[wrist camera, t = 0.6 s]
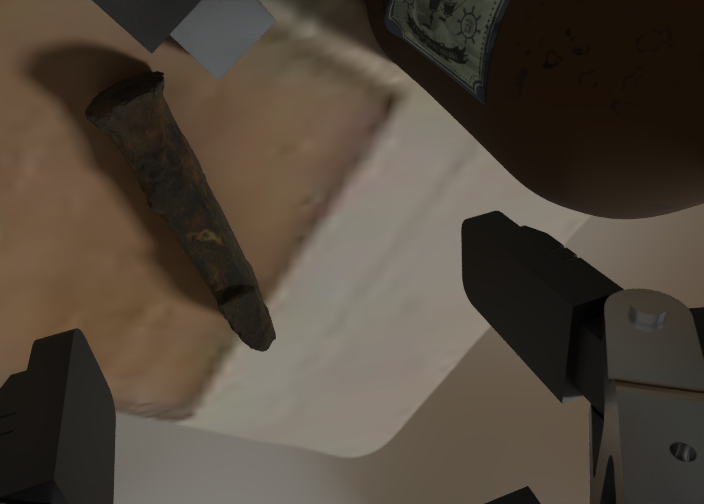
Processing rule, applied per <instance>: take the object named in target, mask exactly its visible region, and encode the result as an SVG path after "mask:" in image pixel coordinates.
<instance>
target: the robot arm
mask: <svg viewBox="0 0 704 504" xmlns="http://www.w3.org/2000/svg"><path fill="white" fill-rule="evenodd" d="M461 234H462V280H463V286H464V289H465V292H466V295H467V297H468V299H469V301H470V302H471V304H472V305H473V306H474V307H475V308H476V309H477V311H478V312H479V313H480V314H481V315H482V316H483V317H484V318H485V319H486V320H487V322H488V323H489V324H490V325H491V326H492V327H493V328H494V329H495V330H496V331H497V332H498V334H499V335H500V336H501V337H502V338H503V339H504V340H505V341H506V342H507V344H508V345H509V346H510V347H511V348H512V349H513V350H514V351H515V352H516V353H517V355H518V356H519V357H520V358H521V359H522V360H523V361H524V362H525V363H526V364H527V366H528V367H529V368H530V369H531V370H532V371H533V372H534V373H535V374H536V375H537V376H538V378H539V379H540V380H541V381H542V382H543V383H544V384H545V385H546V386H547V387H548V389H549V390H550V391H551V392H552V393H553V394H554V395H555V396H556V397H557V399H558V400H559V401H560V402H561V403H565V402H568V401H570V400H573V399H576V398H578V397H581V396H584V397H585V398H586V399H587V400H588V401H589V402H590V406H589V414H588V423H589V468H590V469H589V470H590V471H589V474H590V503H589V504H704V307H702V308H688V307H687V306H685V305H684V304H683V303H682V302H681V301H679V300H678V299H676V298H674V297H672V296H670V295H667V294H665V293H662V292H659V291H654V290H649V289H627V290H624V289H623V288H621V287H620V286H618V285H617V284H615V283H614V282H613V281H611V280H610V279H609V278H608V277H606V276H605V275H603V274H602V273H601V272H599V271H598V270H596V269H595V268H594V267H592V266H591V265H590V264H588V263H587V262H586V261H584V260H583V259H581V258H577V255H576V254H575V253H573V252H572V251H571V250H569V249H568V248H564V245H562V244H561V243H560V242H558V241H557V240H556V239H554V238H553V237H551V236H550V235H549V234H547V233H545V232H542V231H539V230H536V229H533V228H531V227H528V226H521V227H520V226H518V225H517V224H516V223H515V222H513V221H512V220H511V219H509V218H508V217H507V216H505V215H504V214H503V213H501V212H500V211H493V212H489V213H486V214H482V215H479V216H475V217H472V218H468V219H465V220H464V221H463V224H462V230H461ZM115 428H116V414H115V406H114V401H113V398H112V394H111V391H110V388H109V386H108V384H107V382H106V380H105V378H104V376H103V373H102V371H101V369H100V367H99V365H98V363H97V361H96V359H95V357H94V355H93V353H92V351H91V348H90V346H89V344H88V342H87V340H86V338H85V336H84V334H83V333H82V332H81V330H80V329H78V328H77V329H73V330H69V331H66V332H62V333H59V334H55V335H52V336H48V337H45V338H41V339H37V340H35V341H34V343H33V346H32V350H31V355H30V359H29V363H28V368H27V370H26V371H23V372H20V373H16V374H13V375H10V377H9V378H8V379H7V381H6V382H5V383H4V385H3V386H2V387H1V388H0V504H113V499H114V462H115ZM485 504H540V502H539V501H538V499H537V498H536V497H535V495H534V494H533V492H532V491H531V490H530V488H529V487H528V486H527V487H524V488H522V489H520V490H517V491H515V492H512V493H510V494H507V495H505V496H503V497H500V498H498V499H495V500H493V501H490V502H488V503H485Z"/></svg>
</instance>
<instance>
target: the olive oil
mask: <svg viewBox="0 0 704 504" xmlns="http://www.w3.org/2000/svg"><path fill="white" fill-rule="evenodd" d="M366 4H367V12H368V18H369V22H370V25H371V28H372V31H373V33H374V36H375V38H376V40H377V42H378V43H379V45H380V47H381V48H382V49H383V51H384V52H385V53H386V54H387V56H388V57H389V58H390V59H391V60H392V61H393V62H394V63H395V64H397V65H398V66H399V67H400V68H401V69H402V70H403V71H404V72H406V73H407V74H408V75H409V76H410V77H411V78H412V79H414V80H415V81H416V82H417V83H418V84H419V85H420V86H421V87H422V88H424V89H425V90H426V91H427V92H428V93H429V94H430V95H431V96H432V97H433V98H434V99H435V100H436V101H437V102H438V103H439V104H440V105H441V106H442V107H443V108H444V109H445V110H447V111H448V112H449V113H450V114H451V115H452V116H453V117H454V118H455V119H456V120H457V121H458V122H459V123H460V124H461V125H462V126H463V127H464V128H465V129H466V130H467V131H468V132H469V133H470V134H471V135H472V136H473V137H474V138H475V139H476V140H477V141H478V142H479V143H480V144H481V145H482V146H483V147H484V148H485V149H486V150H487V151H488V152H489V153H490V154H491V155H492V156H493V157H494V158H495V159H496V160H497V161H498V162H499V163H500V164H501V165H502V166H503V167H504V168H505V169H506V170H507V171H508V172H509V173H510V174H511V175H513V176H514V177H515V178H516V179H517V180H518V181H519V182H520V183H522V184H523V185H524V186H525V187H527V188H528V189H529V190H531V191H532V192H534V193H535V194H537V195H539V196H541V197H542V198H544V199H546V200H548V201H550V202H553V203H555V204H557V205H560V206H563V207H566V208H569V209H572V210H575V211H578V212H582V213H585V214H589V215H593V216H598V217H605V218H611V219H638V218H648V217H654V216H659V215H664V214H669V213H672V212H676V211H680V210H683V209H687V208H690V207H693V206H697V205H700V204H703V203H704V0H366Z"/></svg>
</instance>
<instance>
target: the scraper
mask: <svg viewBox="0 0 704 504" xmlns="http://www.w3.org/2000/svg"><path fill="white" fill-rule="evenodd" d="M92 1H93V2H95V3H96V4H97V5H98V6H99V7H100V8H101V9H102V10H104V11H105V12H106V13H107V14H108V15H109V16H110V17H111V18H112V19H114V20H115V21H116V22H117V23H118V24H119V25H120V26H121V27H123V28H124V29H125V30H126V31H127V32H128V33H129V34H130V35H132V36H133V37H134V38H135V39H136V40H137V41H138V42H139V43H141V44H142V45H143V46H144V47H145V48H146V49H147V50H148V51H149V52H151V53H153V52H154V51H155V50H156V49H157V48H158V46H159V45H160V44H161V43H162V42H163V41H164V40H165V39H166V38H167V37H168V36H169V35H170V36H172V37H173V38H174V39H175V40H176V41H177V42H178V43H179V44H180V45H181V46H182V47H183V48H184V49H185V50H186V51H188V52H189V53H190V54H191V55H192V56H193V57H194V58H195V59H196V60H197V61H198V62H199V63H200V64H201V65H202V66H204V67H205V68H206V69H207V70H208V71H209V72H210V73H211V74H212V75H213V76H214V77H215V78H216V79H217V80H218V81H219V80H220V79H221V78H222V77H223V76H224V75H225V74H226V73H227V72H228V71H229V70H230V68H231V67H232V66H233V65H234V64H235V63H236V62H237V61H238V60H239V59H240V58H241V57H242V56H243V55H244V54H245V53H246V52H247V51H248V50H249V49H250V48H251V47H252V46H253V45H254V44H255V43H256V42H257V41H258V40H259V39H260V38H261V37H262V36H263V35H264V34H265V33H266V31H267V30H268V29H269V28H270V27H271V26H272V25H273V24H274V23H275V22H276V20H275V19H274V18H273V16H272V15H271V14H270V13H269V12H268V11H267V9H266V8H265V7H264V6H263V5H262V4H261V3H260V2H259V1H258V0H92Z"/></svg>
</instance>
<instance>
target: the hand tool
mask: <svg viewBox="0 0 704 504" xmlns="http://www.w3.org/2000/svg"><path fill="white" fill-rule="evenodd" d="M163 75H164V73H162V72H158V71H156V72H148V73H145V74H142V75H140V76H137V77H134V78H130V79H126V80H124V81H122V82H119V83H117V84H115V85H113V86H111V87H110V88H108V89H106V90H104V91H102V92H99V95H98V96H96V97H95V98H94V99H93V100H92V102H91V104H90V105H89V106H88V108H87V109H86V111H85V114H86V118H87V119H88V120H89V121H90V122H91V123H93V124H94V125H96V126H97V127H98V128H99V129H100V130H101V131H102V132H103V133H104V134H107V135H109V136H110V138H111V139H112V140H113V141H114V142H115V143H116V144H117V145H118V146H119V148H120V150H121V152H122V154H123V155H124V156H125V158H126V159H127V161H128V163H129V165H130V166H131V167H132V168H133V170H134V172H135V174H136V176H137V178H138V180H139V184H140V186H141V188H142V190H143V191H144V192H145V193H146V196H147V201H148V206H149V207H150V209H151V210H152V211H153V212H156V213H158V214H160V215H161V216H162V217H164V218H165V220H166V221H167V223H168V225H169V226H170V228H171V230H172V231H173V233H174V234H175V236H176V237H177V239H178V241H179V242H180V244H181V246H182V247H183V249H184V250H185V251H186V252H187V254H188V255H189V257H190V259H191V260H192V262H193V263H194V265H195V266H196V268H197V269H198V271H199V272H200V274H201V275H202V277H203V279H204V280H205V282H206V283H207V285H208V286H209V288H210V290H211V292H212V293H213V295H214V296H215V297H216V300H217V304H218V307H219V309H220V311H221V313H222V314H223V316H224V318H225V319H226V320H227V321H228V322H229V324H230V326H231V328H232V330H233V331H234V332H236V333H237V334H238V335H239V337H240V339H241V340H242V341H243V342H244V343H245V344H247V345H249V347H250V348H252V349H255V350H258V351H262V352H263V351H265V350H267V349H269V347H270V345H271V343H272V341H273V340H274V339H276V334H275V331H274V327H273V324H272V320H271V317H270V315H269V311H268V308H267V307H266V305H265V304H264V302H263V299H262V295H261V292H260V289H259V286H258V282H257V279H256V277H255V274H254V272H253V269H252V266H251V265H250V264H249V262H248V261H247V260H246V259H245V256H244V254H243V252H242V250H241V248H240V246H239V244H238V242H237V240H236V237H235V235H234V233H233V231H232V229H231V227H230V225H229V223H228V221H227V219H226V217H225V215H224V213H223V211H222V209H221V207H220V205H219V204H218V202H217V200H216V199H215V197H214V195H213V193H212V191H211V189H210V187H209V185H208V183H207V181H206V178H205V174H204V173H203V172H202V169H201V166H200V163H199V161H198V159H197V158H196V156H195V154H194V152H193V150H192V149H191V148H190V145H189V144H188V142H187V140H186V138H185V136H184V135H183V134H182V133H181V131H180V129H179V127H178V125H177V123H176V121H175V119H174V117H173V115H172V113H171V111H170V109H169V107H168V105H167V103H166V101H165V99H164V97H163V89H164V77H163Z"/></svg>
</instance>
